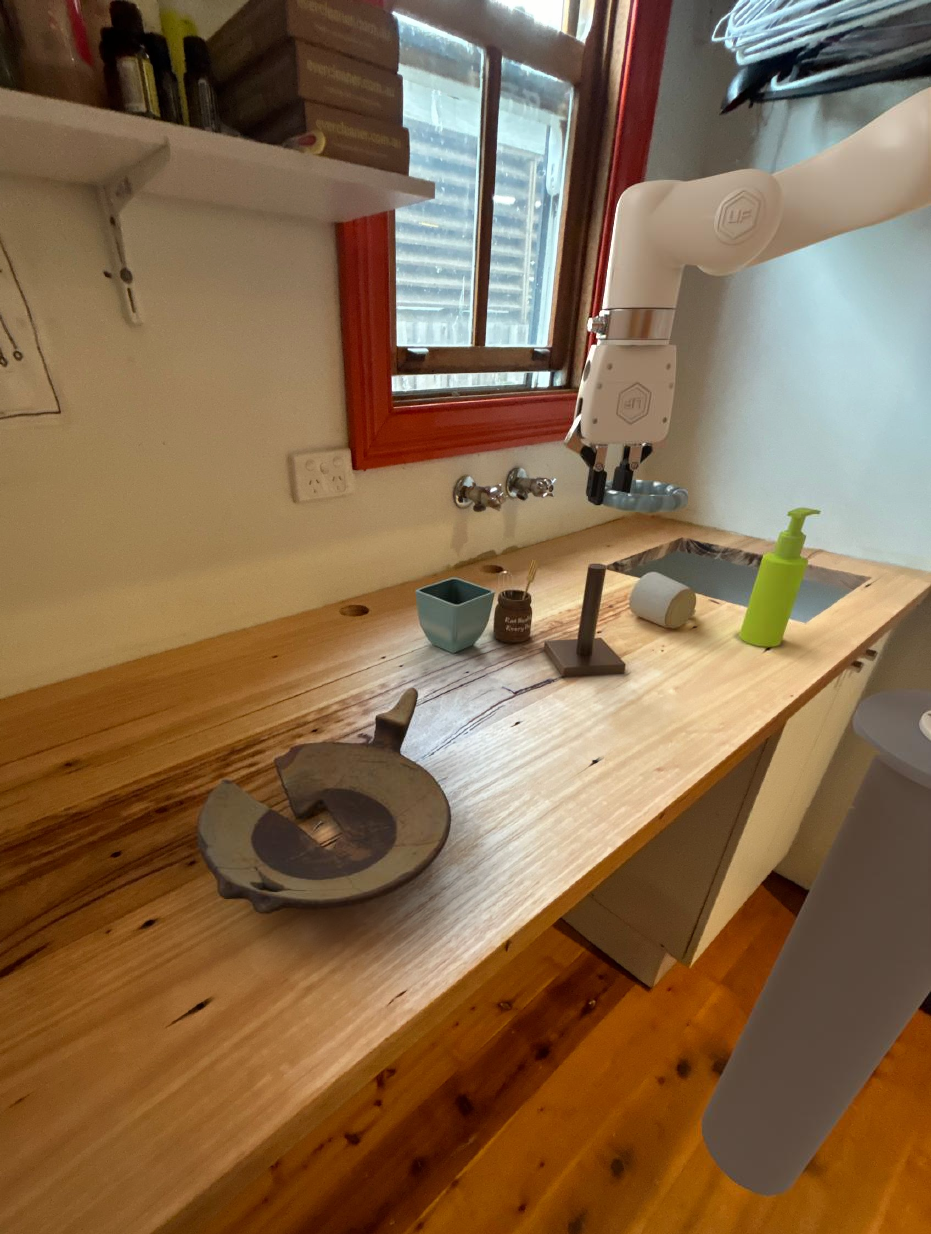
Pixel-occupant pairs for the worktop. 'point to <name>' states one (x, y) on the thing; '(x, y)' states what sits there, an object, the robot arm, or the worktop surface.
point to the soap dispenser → (777, 585)
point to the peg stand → (586, 637)
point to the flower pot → (454, 612)
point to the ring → (646, 497)
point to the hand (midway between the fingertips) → (606, 501)
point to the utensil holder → (514, 612)
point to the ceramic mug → (662, 600)
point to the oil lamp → (358, 802)
